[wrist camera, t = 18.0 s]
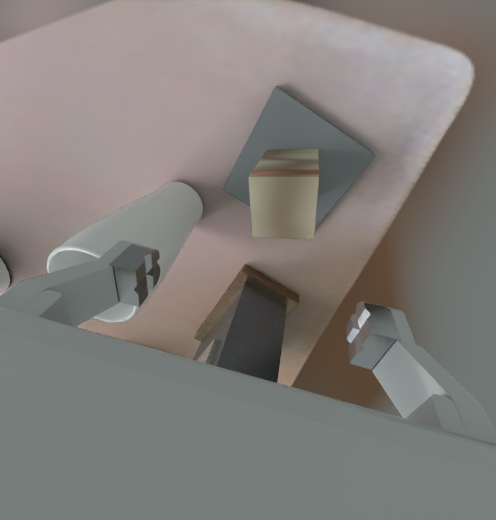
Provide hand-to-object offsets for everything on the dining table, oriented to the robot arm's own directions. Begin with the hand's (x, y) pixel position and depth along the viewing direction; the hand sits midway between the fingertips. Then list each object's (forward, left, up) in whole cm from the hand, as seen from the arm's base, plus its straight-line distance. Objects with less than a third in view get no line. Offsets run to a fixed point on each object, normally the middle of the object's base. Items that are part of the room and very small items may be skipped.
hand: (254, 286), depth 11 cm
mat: (+1, 0, -18) cm, 18 cm away
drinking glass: (-8, -10, -18) cm, 22 cm away
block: (+1, 0, -17) cm, 17 cm away
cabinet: (+6, -21, -18) cm, 28 cm away
